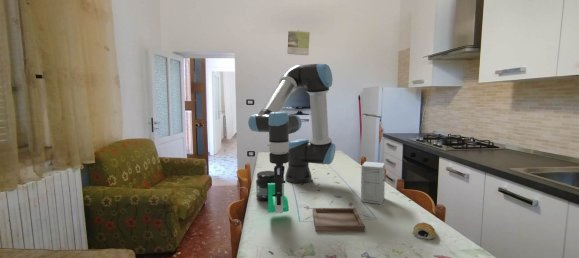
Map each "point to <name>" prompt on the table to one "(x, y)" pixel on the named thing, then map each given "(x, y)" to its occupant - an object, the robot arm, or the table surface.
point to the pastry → (424, 231)
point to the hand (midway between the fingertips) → (280, 205)
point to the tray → (337, 220)
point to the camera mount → (272, 199)
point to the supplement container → (264, 184)
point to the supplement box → (372, 182)
